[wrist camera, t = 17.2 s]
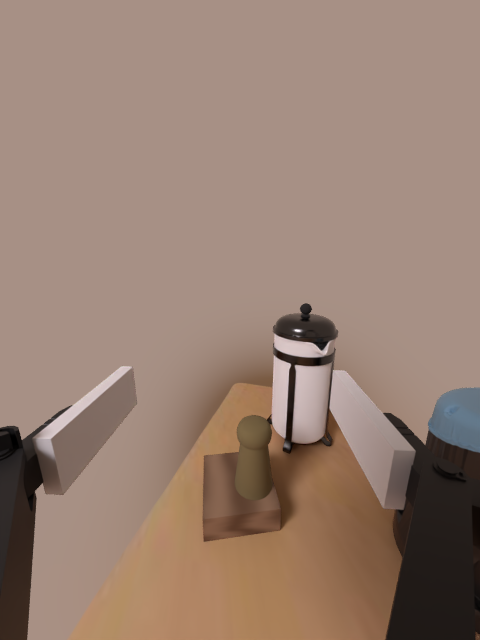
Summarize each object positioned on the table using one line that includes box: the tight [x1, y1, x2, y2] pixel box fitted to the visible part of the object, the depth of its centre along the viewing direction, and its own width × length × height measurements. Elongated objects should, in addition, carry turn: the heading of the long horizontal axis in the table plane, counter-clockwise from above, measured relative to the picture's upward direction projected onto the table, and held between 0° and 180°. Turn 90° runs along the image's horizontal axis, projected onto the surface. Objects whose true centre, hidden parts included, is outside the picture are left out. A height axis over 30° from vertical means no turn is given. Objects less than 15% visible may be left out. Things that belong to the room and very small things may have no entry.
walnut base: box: [203, 452, 281, 541], centre depth 39 cm, size 11×11×4 cm
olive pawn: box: [235, 415, 273, 500], centre depth 36 cm, size 6×6×11 cm
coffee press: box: [267, 304, 338, 454], centre depth 52 cm, size 17×16×30 cm
